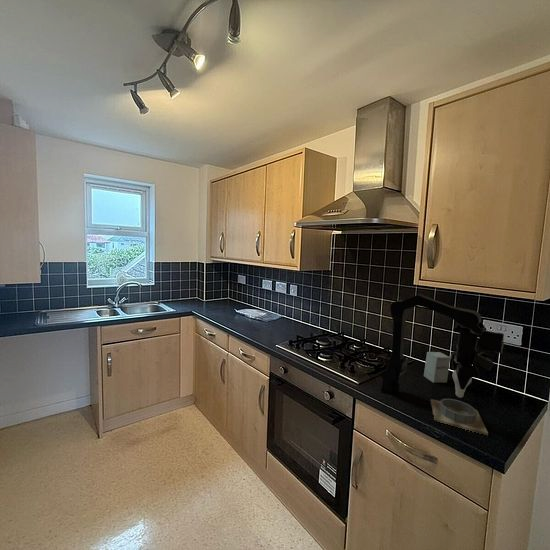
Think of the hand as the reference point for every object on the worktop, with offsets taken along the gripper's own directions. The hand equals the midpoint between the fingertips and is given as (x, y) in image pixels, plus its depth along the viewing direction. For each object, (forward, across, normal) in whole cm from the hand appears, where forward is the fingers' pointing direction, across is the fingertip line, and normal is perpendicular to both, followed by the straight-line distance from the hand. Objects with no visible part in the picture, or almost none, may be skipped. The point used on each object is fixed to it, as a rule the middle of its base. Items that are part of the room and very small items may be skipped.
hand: (460, 385), depth 110 cm
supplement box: (+13, +34, +4) cm, 36 cm away
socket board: (+12, 0, 0) cm, 12 cm away
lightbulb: (+5, 0, 0) cm, 5 cm away
